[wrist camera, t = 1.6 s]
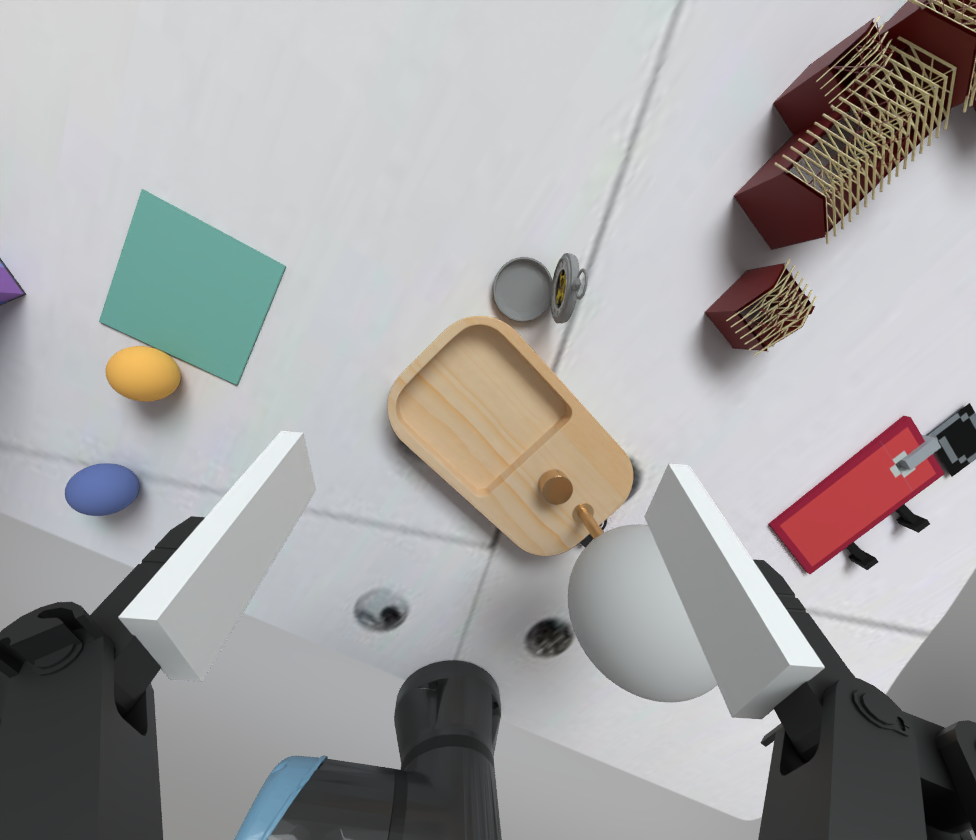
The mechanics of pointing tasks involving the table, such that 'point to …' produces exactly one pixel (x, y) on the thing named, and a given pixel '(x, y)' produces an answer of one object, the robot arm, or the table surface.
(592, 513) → the lamp
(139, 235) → the green mark
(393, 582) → the table surface
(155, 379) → the orange ball
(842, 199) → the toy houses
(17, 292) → the purple book
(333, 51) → the table surface
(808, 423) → the table surface
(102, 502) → the blue ball
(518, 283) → the pocket watch
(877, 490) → the red board with handle
